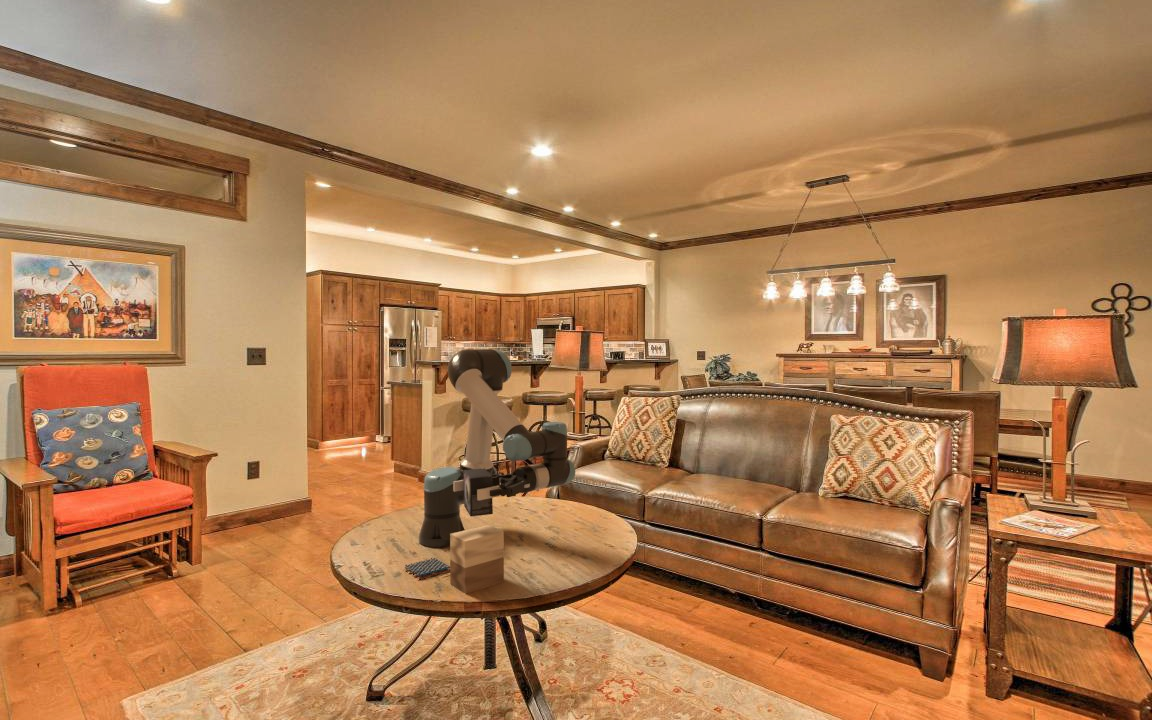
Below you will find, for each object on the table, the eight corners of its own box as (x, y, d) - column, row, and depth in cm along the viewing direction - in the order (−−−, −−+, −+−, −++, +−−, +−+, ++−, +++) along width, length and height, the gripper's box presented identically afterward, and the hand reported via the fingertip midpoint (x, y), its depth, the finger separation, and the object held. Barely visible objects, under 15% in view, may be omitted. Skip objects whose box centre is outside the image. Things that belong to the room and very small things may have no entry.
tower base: (450, 585, 152) (450, 559, 152) (488, 573, 160) (488, 549, 160) (465, 594, 146) (465, 567, 146) (503, 581, 154) (503, 556, 154)
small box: (462, 506, 157) (462, 469, 157) (485, 504, 159) (485, 467, 159) (469, 517, 147) (468, 477, 147) (493, 514, 149) (493, 475, 149)
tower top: (450, 559, 152) (450, 533, 152) (488, 549, 160) (488, 524, 160) (465, 568, 146) (464, 541, 146) (503, 557, 154) (503, 531, 153)
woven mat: (435, 562, 169) (435, 556, 169) (452, 573, 161) (452, 566, 161) (402, 571, 162) (402, 564, 162) (418, 582, 154) (418, 575, 154)
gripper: (556, 498, 156) (490, 514, 142) (506, 483, 174) (443, 496, 159) (556, 472, 156) (490, 484, 141) (506, 459, 174) (443, 469, 159)
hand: (465, 490), depth 150 cm, fingers closed on small box, 11 cm apart
